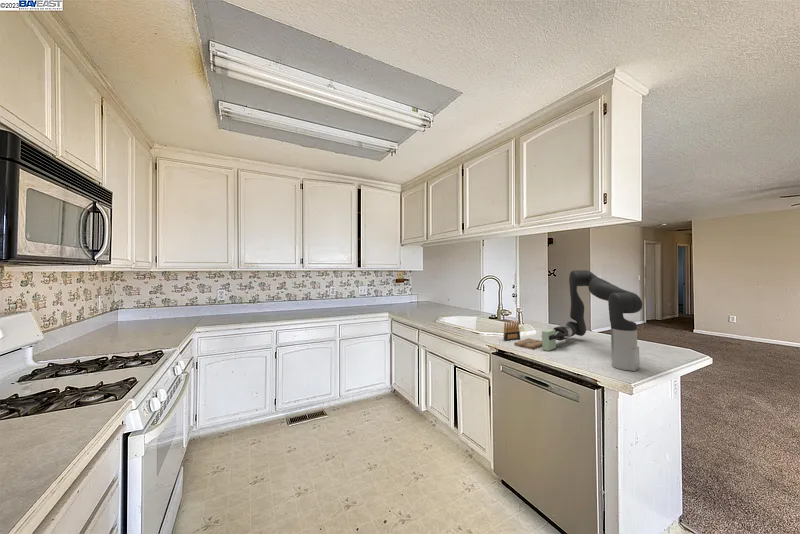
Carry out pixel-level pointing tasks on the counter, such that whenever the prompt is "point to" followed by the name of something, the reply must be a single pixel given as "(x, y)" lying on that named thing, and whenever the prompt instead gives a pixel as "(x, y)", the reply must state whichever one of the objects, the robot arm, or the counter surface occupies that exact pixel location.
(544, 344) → the green bar
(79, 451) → the counter surface
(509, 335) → the ammunition clip
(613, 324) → the robot arm
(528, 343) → the bolt board
